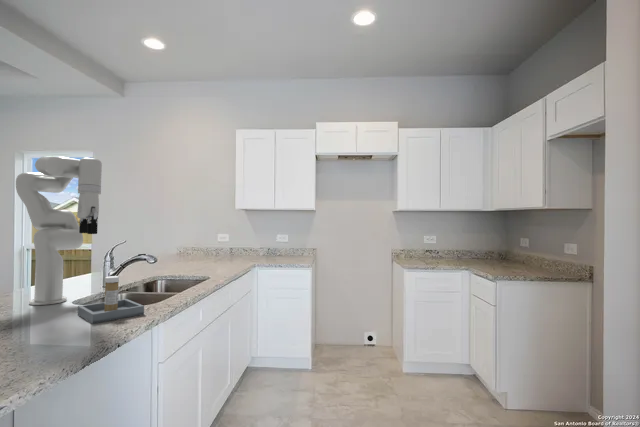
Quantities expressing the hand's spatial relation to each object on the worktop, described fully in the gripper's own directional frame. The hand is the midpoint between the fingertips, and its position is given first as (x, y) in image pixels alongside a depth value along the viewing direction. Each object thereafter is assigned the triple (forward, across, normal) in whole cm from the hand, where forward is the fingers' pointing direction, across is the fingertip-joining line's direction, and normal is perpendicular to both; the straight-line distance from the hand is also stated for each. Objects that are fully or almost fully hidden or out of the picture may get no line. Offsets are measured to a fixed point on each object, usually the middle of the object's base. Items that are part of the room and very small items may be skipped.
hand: (88, 233), depth 135 cm
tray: (+30, +12, +5) cm, 33 cm away
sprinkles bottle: (+30, +12, +5) cm, 32 cm away
